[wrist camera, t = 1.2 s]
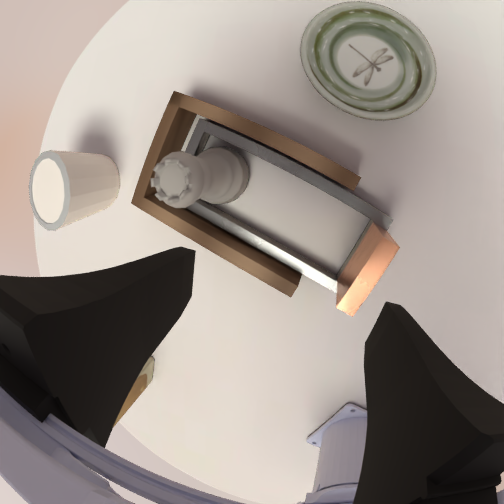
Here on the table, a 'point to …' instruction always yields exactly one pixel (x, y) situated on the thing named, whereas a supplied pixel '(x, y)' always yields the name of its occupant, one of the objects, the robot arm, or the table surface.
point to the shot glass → (71, 187)
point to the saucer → (368, 60)
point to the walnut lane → (199, 228)
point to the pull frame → (344, 283)
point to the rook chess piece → (200, 177)
